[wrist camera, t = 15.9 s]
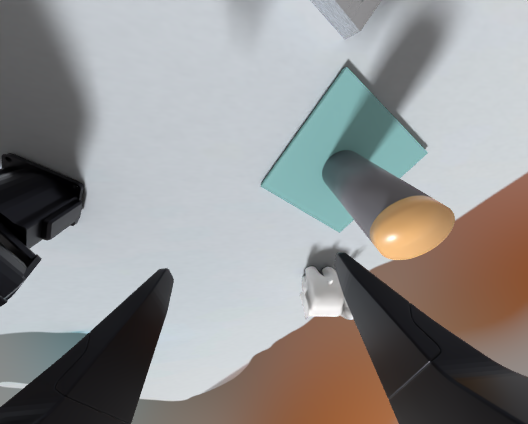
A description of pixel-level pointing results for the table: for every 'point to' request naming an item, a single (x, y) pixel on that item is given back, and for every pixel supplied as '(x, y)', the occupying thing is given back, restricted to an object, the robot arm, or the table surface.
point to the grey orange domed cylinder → (387, 206)
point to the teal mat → (340, 148)
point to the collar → (347, 14)
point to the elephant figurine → (323, 294)
